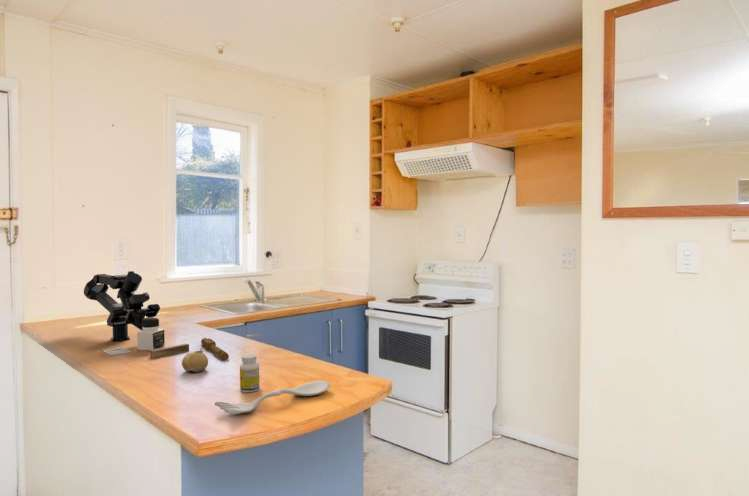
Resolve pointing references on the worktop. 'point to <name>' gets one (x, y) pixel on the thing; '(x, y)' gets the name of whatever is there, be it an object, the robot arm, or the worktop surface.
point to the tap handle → (214, 348)
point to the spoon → (301, 390)
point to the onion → (195, 361)
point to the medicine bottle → (150, 335)
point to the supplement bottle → (249, 374)
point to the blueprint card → (116, 351)
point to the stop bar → (169, 350)
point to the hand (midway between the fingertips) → (142, 329)
